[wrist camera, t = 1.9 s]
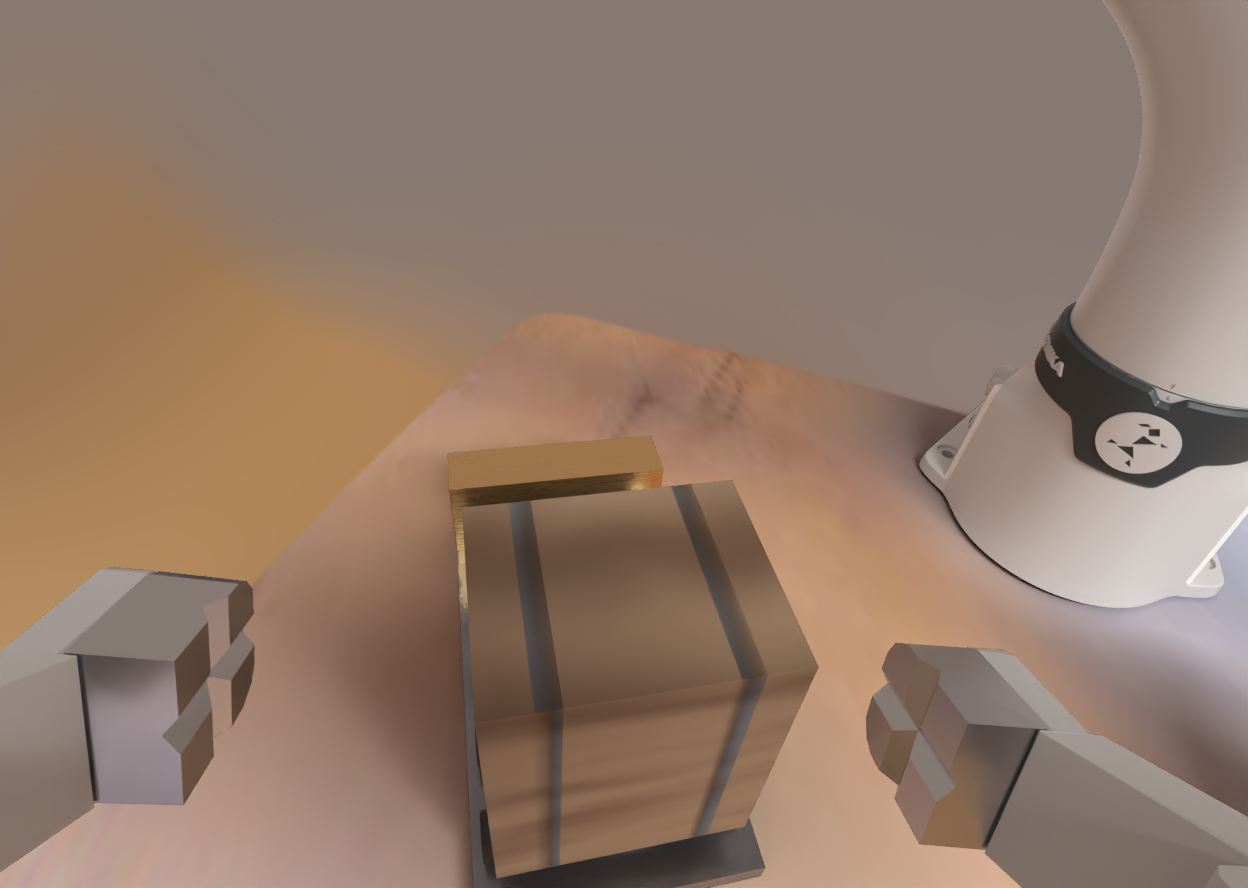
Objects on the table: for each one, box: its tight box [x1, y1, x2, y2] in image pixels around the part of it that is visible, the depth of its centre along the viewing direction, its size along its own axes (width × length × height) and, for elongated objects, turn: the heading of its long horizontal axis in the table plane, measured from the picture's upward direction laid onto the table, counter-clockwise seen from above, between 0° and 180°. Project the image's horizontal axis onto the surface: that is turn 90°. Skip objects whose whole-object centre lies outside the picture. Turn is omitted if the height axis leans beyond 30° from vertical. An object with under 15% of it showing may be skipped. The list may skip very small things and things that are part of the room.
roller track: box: [448, 436, 765, 888], centre depth 35 cm, size 22×12×6 cm, turn 12°
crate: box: [462, 480, 818, 878], centre depth 27 cm, size 8×10×12 cm
